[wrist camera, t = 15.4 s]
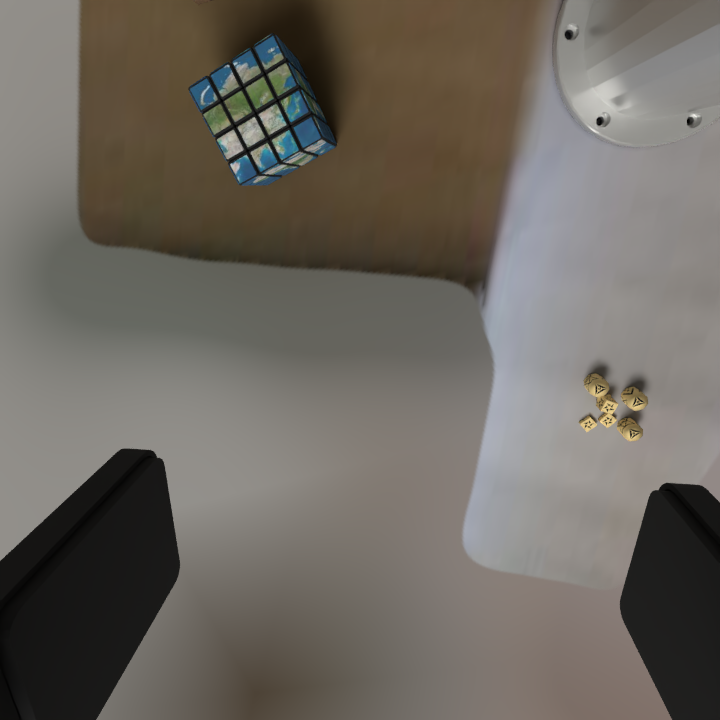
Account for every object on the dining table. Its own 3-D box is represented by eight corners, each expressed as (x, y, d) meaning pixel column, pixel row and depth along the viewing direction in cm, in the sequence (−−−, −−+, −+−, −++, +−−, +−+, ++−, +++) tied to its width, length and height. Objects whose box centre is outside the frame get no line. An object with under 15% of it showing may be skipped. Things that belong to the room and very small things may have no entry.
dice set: (583, 369, 38) (592, 378, 36) (648, 377, 37) (660, 387, 36) (566, 424, 39) (574, 435, 38) (628, 432, 39) (639, 444, 37)
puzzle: (338, 146, 33) (324, 138, 27) (266, 186, 34) (238, 186, 29) (297, 58, 31) (273, 30, 26) (223, 103, 33) (185, 87, 27)
